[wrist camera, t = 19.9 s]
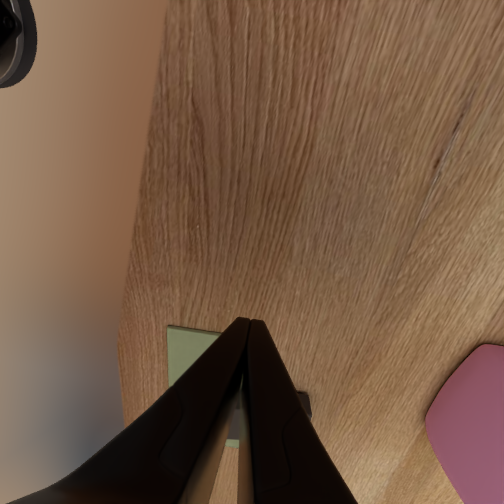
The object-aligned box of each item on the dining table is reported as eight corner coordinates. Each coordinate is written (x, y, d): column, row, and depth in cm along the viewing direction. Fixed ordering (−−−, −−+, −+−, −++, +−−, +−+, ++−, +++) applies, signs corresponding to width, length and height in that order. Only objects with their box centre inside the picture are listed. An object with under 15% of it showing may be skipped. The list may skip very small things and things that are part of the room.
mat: (248, 446, 33) (248, 450, 33) (171, 433, 34) (170, 436, 33) (266, 340, 26) (265, 343, 26) (168, 325, 27) (166, 328, 26)
